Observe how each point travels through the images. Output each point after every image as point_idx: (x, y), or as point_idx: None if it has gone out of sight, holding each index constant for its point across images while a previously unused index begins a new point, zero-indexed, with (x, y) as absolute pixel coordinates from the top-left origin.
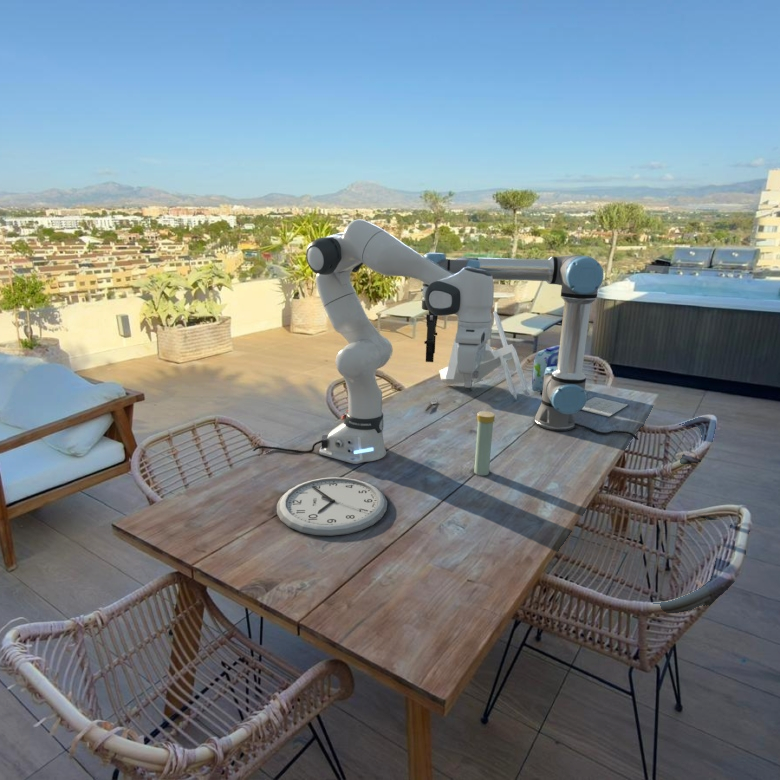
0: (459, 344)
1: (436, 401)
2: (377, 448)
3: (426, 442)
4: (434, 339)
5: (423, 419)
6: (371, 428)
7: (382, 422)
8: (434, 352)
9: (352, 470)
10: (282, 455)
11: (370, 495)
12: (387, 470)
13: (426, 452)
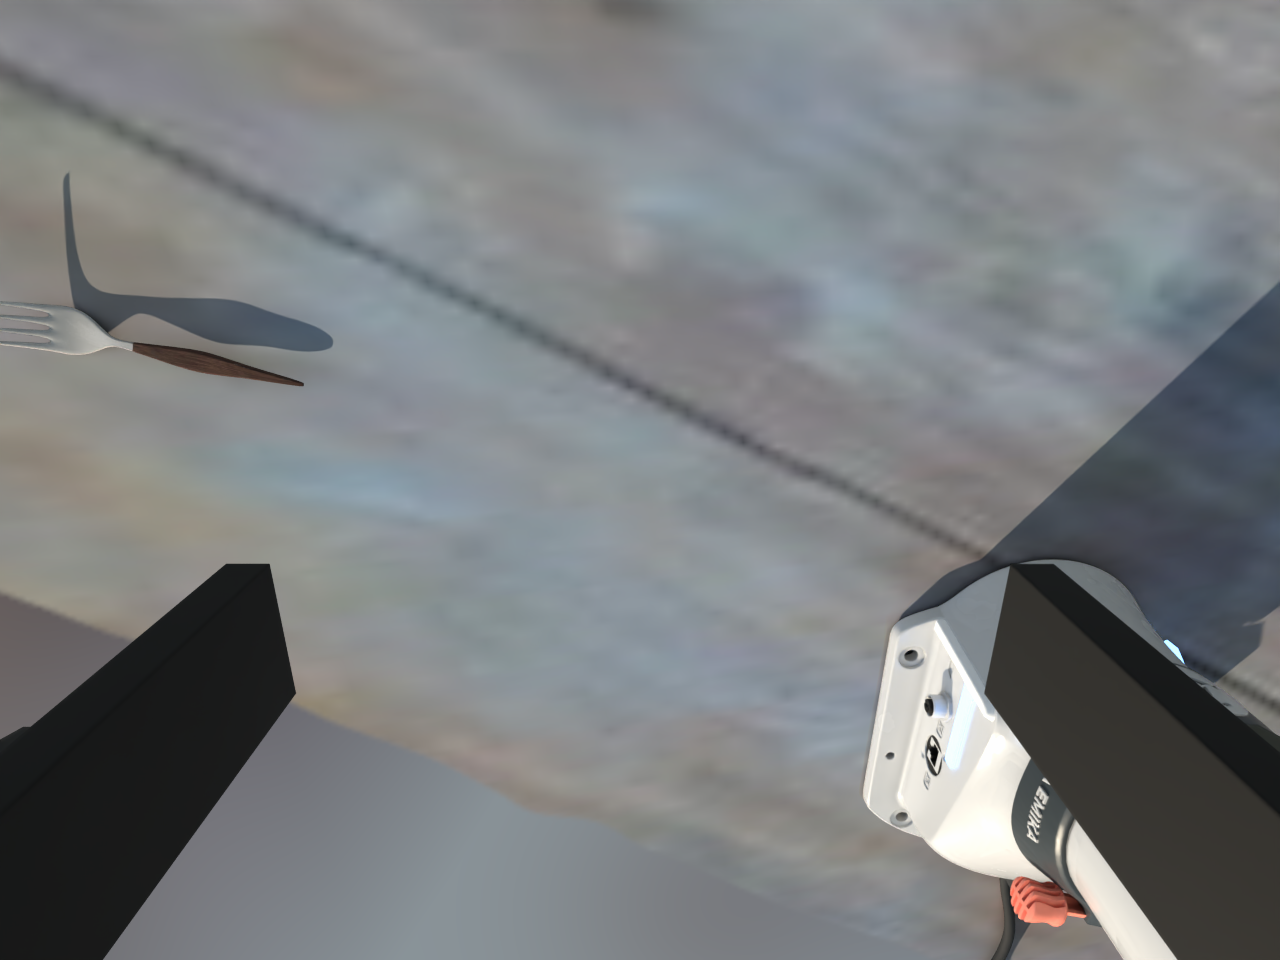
0: None
1: (49, 311)
2: (1149, 624)
3: (870, 347)
4: (29, 821)
5: (456, 389)
6: None
7: (1214, 696)
8: (259, 578)
9: (1226, 678)
10: (1039, 946)
11: None
12: (1250, 528)
13: (1028, 338)
